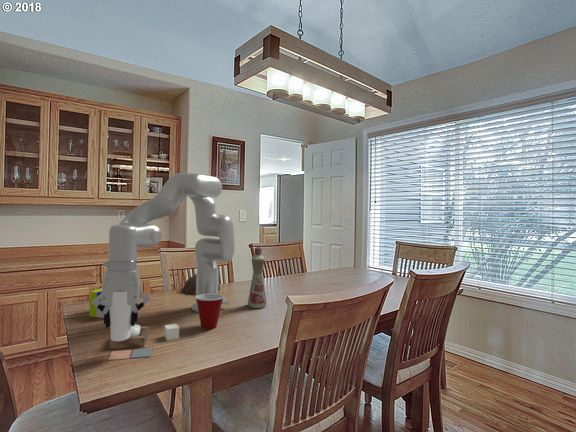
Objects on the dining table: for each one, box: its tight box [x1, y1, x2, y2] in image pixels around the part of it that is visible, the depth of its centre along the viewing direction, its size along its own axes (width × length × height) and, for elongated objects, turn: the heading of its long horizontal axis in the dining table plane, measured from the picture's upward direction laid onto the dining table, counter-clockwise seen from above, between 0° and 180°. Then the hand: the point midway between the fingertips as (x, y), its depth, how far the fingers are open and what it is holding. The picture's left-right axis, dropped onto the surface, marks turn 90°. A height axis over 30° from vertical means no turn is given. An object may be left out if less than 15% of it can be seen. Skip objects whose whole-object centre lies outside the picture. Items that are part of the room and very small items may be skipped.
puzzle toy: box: [88, 287, 104, 319], centre depth 133 cm, size 10×10×10 cm
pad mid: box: [129, 347, 154, 360], centre depth 99 cm, size 6×6×1 cm
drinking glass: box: [109, 291, 133, 341], centre depth 97 cm, size 7×7×15 cm
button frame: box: [109, 325, 149, 350], centre depth 107 cm, size 10×10×3 cm
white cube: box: [164, 323, 180, 342], centre depth 112 cm, size 4×4×4 cm
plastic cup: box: [195, 294, 225, 330], centre depth 123 cm, size 11×11×12 cm
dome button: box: [130, 323, 141, 337], centre depth 107 cm, size 6×6×4 cm
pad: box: [107, 349, 133, 361], centre depth 97 cm, size 6×6×1 cm
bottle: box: [247, 246, 267, 309], centre depth 151 cm, size 9×9×28 cm
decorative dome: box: [182, 273, 221, 296], centre depth 174 cm, size 19×20×10 cm
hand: (120, 324), depth 97 cm, fingers closed on drinking glass, 6 cm apart
